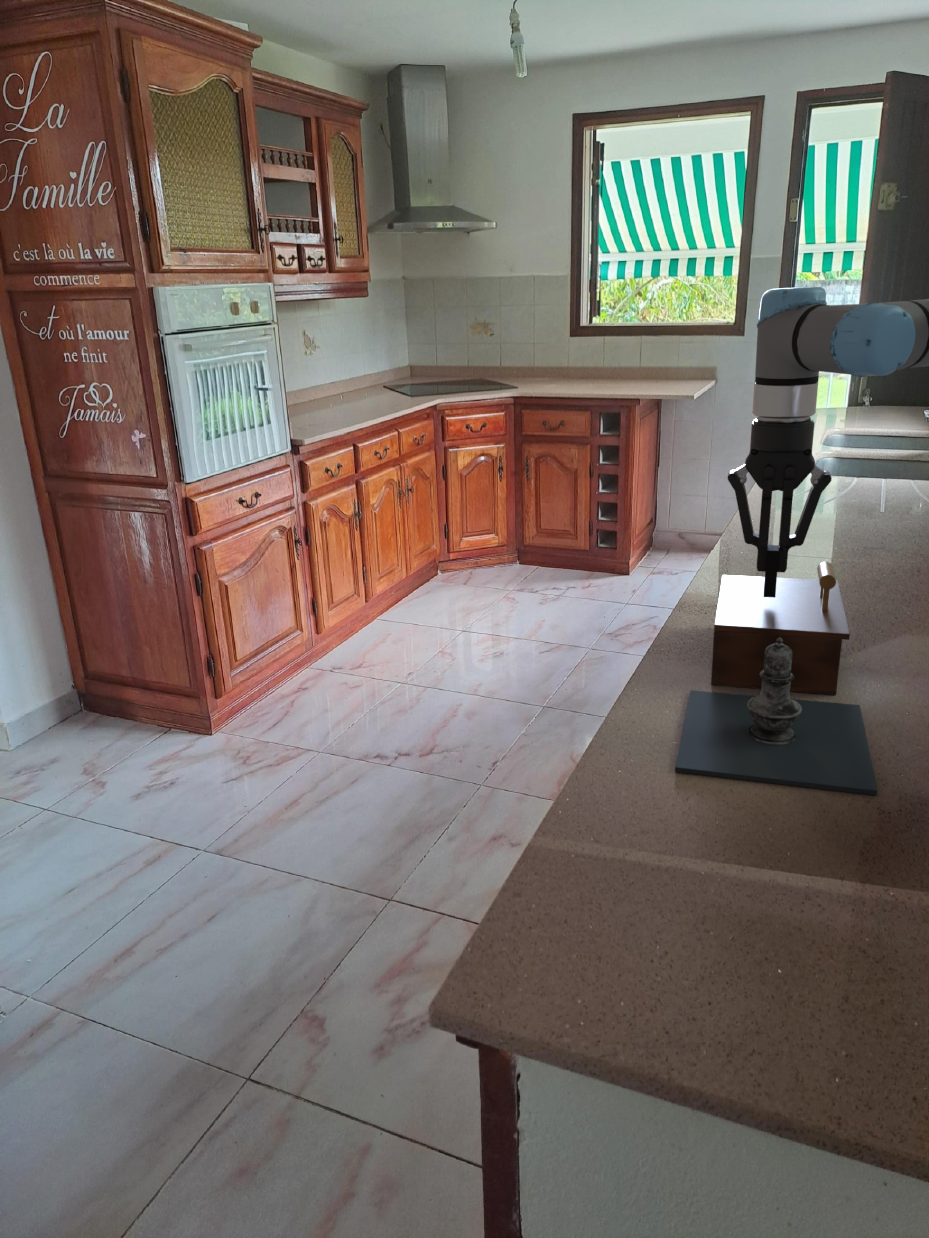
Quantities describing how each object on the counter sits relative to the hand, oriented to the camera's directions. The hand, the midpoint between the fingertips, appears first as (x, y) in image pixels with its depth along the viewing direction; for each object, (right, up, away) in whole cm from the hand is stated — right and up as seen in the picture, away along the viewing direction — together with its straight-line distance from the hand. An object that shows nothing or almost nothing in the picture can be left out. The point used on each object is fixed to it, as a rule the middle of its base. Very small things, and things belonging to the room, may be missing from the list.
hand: (769, 593), depth 119 cm
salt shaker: (-6, -17, -18) cm, 26 cm away
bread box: (+1, -9, +3) cm, 9 cm away
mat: (-6, -17, -18) cm, 26 cm away
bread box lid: (+1, -2, 0) cm, 2 cm away
